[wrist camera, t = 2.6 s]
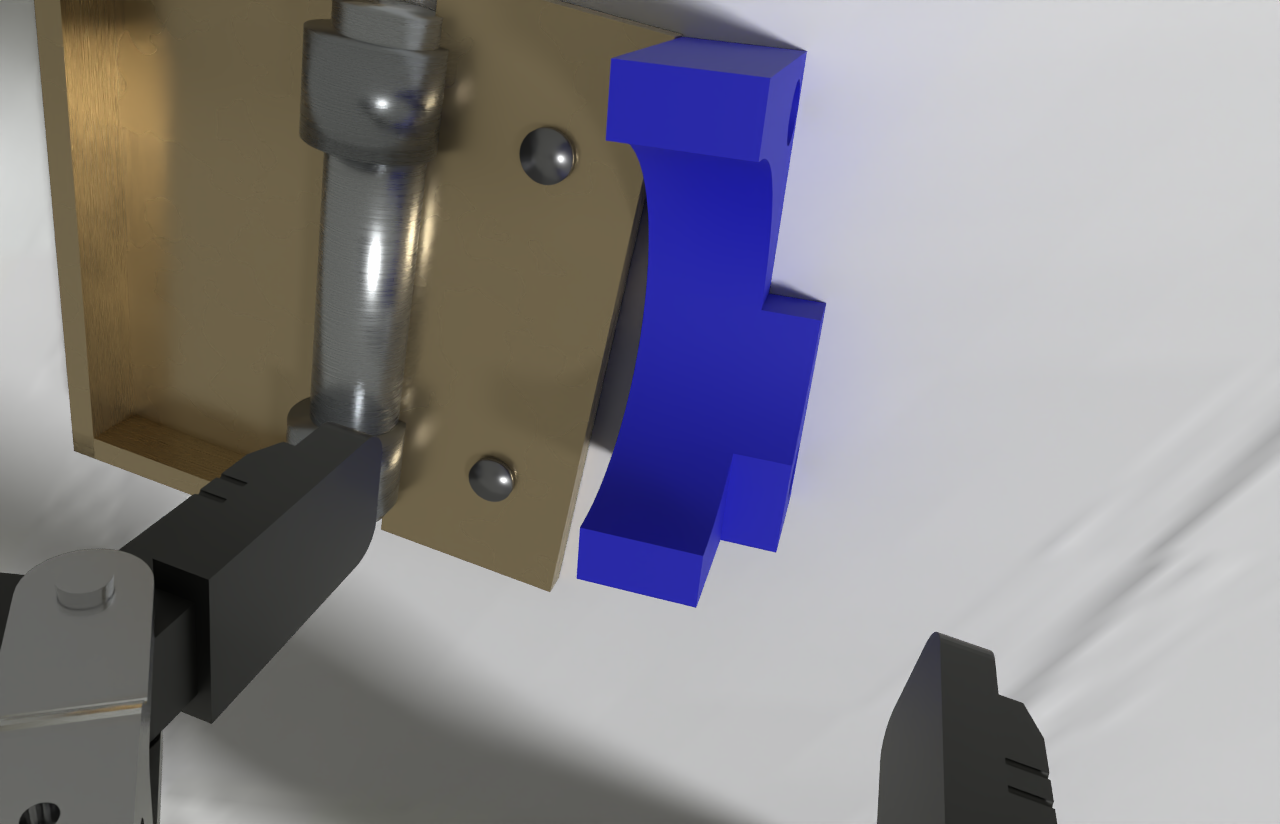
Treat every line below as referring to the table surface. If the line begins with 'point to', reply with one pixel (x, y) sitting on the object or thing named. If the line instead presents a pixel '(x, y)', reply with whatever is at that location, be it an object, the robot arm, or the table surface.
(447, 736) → the table surface
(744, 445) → the blue curved bracket
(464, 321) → the hinge base
